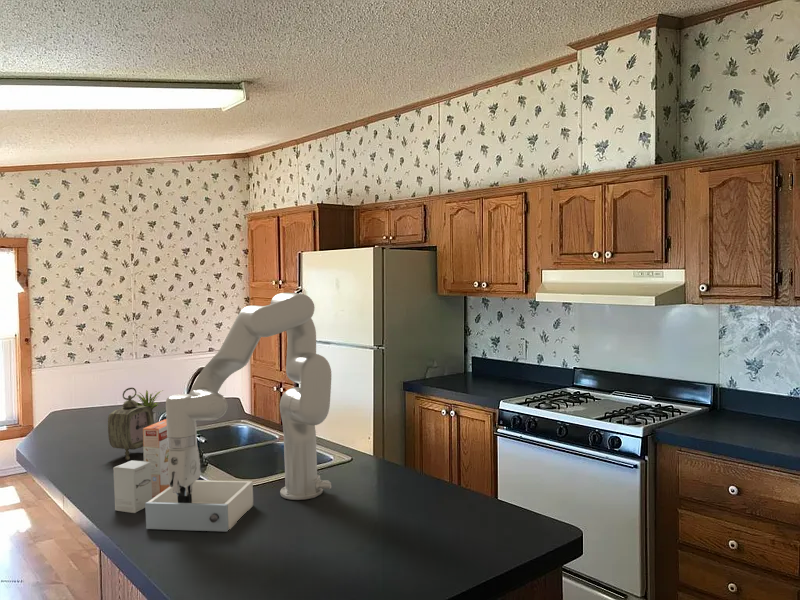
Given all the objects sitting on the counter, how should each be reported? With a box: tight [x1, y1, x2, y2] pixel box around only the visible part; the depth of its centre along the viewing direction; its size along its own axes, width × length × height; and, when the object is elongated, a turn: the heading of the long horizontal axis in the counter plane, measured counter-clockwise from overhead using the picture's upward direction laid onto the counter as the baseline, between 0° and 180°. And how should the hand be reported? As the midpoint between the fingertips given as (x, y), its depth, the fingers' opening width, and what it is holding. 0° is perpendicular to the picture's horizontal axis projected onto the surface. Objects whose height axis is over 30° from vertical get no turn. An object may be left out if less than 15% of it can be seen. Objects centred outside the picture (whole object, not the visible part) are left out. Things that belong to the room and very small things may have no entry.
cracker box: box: [142, 418, 170, 498], centre depth 208 cm, size 14×6×21 cm, turn 168°
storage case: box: [148, 479, 254, 531], centre depth 185 cm, size 22×18×7 cm
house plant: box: [134, 389, 165, 424], centre depth 291 cm, size 14×14×16 cm
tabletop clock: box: [107, 387, 154, 461], centre depth 246 cm, size 14×9×25 cm, turn 161°
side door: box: [144, 502, 229, 532], centre depth 175 cm, size 22×2×7 cm, turn 82°
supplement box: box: [112, 460, 153, 514], centre depth 193 cm, size 7×7×13 cm
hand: (185, 508), depth 181 cm, fingers closed
